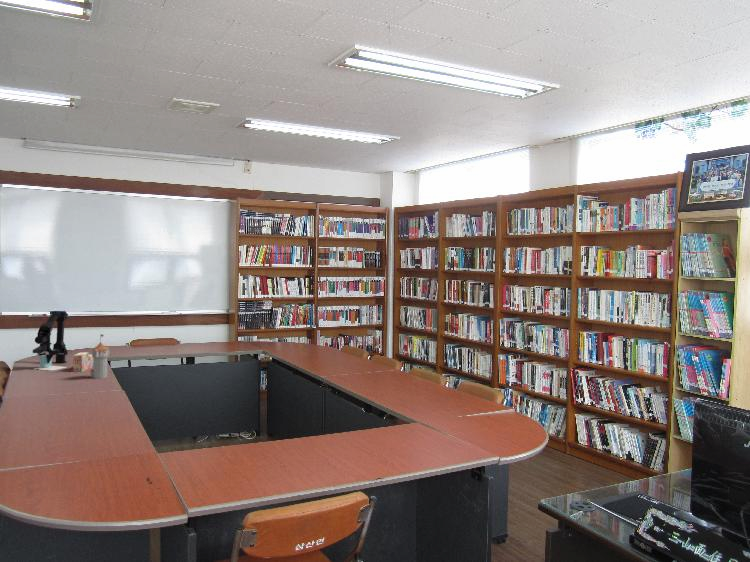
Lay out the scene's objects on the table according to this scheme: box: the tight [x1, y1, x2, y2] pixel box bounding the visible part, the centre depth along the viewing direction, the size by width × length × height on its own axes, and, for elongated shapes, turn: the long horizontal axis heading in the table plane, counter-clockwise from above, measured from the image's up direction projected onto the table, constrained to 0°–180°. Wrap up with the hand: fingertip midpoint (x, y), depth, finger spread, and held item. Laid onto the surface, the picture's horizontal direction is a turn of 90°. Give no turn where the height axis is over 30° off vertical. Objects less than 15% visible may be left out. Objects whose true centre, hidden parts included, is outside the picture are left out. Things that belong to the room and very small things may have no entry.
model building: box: [89, 334, 110, 379], centre depth 409 cm, size 14×12×30 cm
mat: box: [34, 365, 67, 372], centre depth 437 cm, size 14×16×1 cm
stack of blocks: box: [72, 351, 94, 373], centre depth 437 cm, size 21×6×12 cm, turn 5°
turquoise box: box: [39, 353, 53, 367], centre depth 438 cm, size 7×4×8 cm, turn 165°
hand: (45, 363), depth 438 cm, fingers closed on turquoise box, 4 cm apart
